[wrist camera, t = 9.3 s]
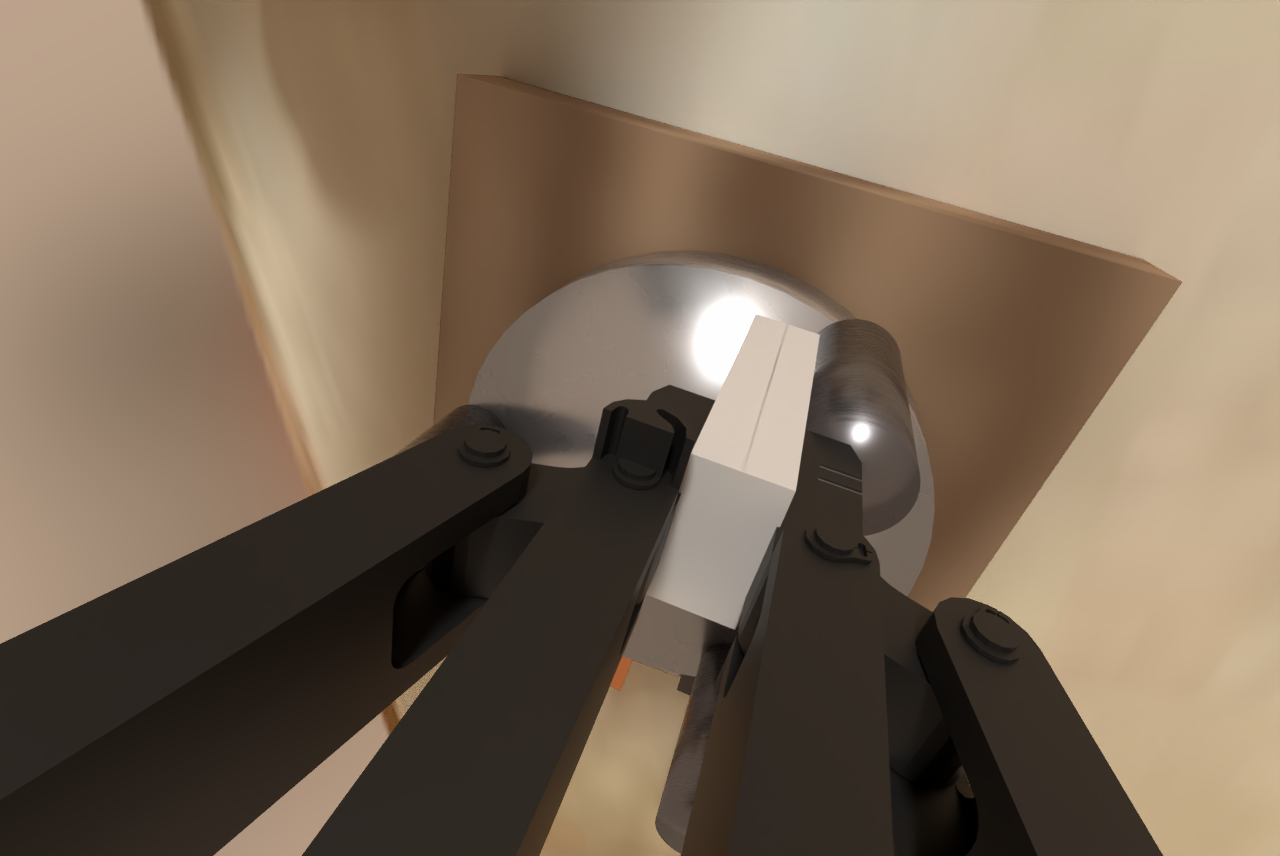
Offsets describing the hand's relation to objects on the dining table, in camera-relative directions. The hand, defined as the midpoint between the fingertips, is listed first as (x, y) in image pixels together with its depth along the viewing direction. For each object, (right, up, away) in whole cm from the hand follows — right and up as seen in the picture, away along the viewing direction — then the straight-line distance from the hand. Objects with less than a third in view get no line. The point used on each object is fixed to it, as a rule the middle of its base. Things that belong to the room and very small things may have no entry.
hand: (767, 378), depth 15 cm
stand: (0, -1, +10) cm, 10 cm away
